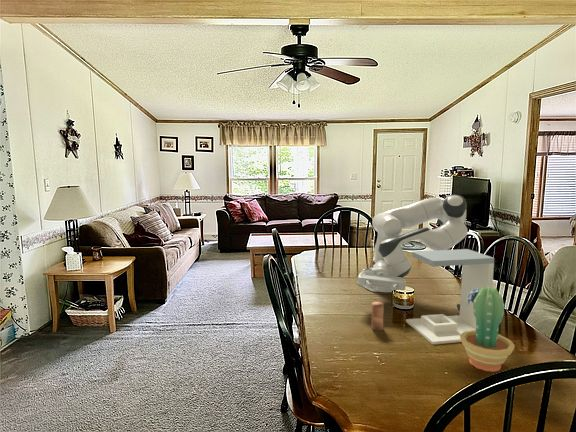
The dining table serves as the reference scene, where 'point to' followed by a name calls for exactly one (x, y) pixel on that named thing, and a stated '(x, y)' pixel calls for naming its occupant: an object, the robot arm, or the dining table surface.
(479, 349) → the potted cactus
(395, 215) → the robot arm
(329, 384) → the dining table surface
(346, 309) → the dining table surface
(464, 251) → the awning socket
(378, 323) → the peg
